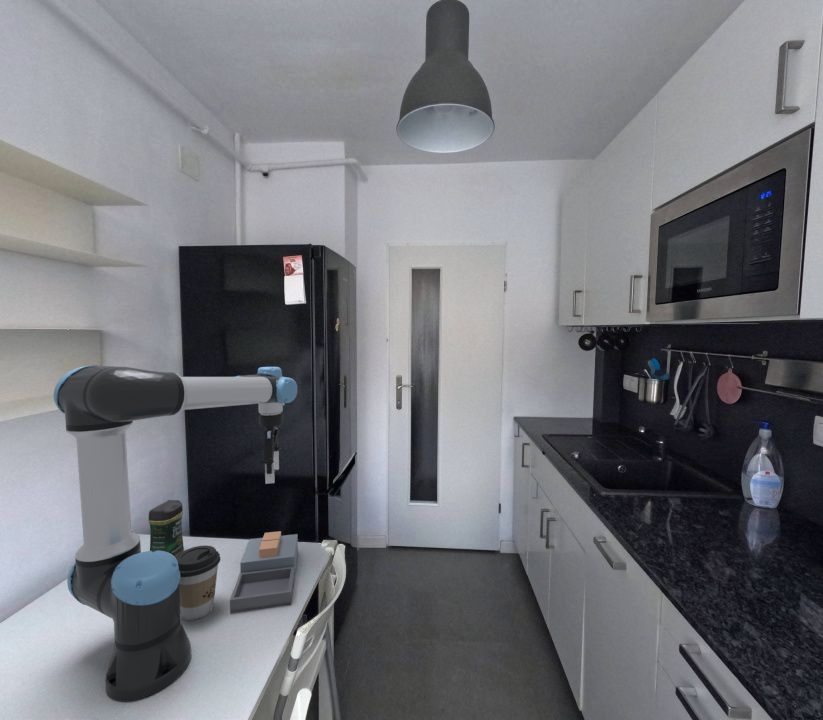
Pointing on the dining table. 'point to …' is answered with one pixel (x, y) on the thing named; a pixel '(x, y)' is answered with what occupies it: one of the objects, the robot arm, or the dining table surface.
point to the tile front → (269, 548)
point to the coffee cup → (197, 580)
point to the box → (262, 589)
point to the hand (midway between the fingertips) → (272, 476)
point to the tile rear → (272, 536)
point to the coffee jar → (166, 528)
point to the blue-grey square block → (282, 560)
